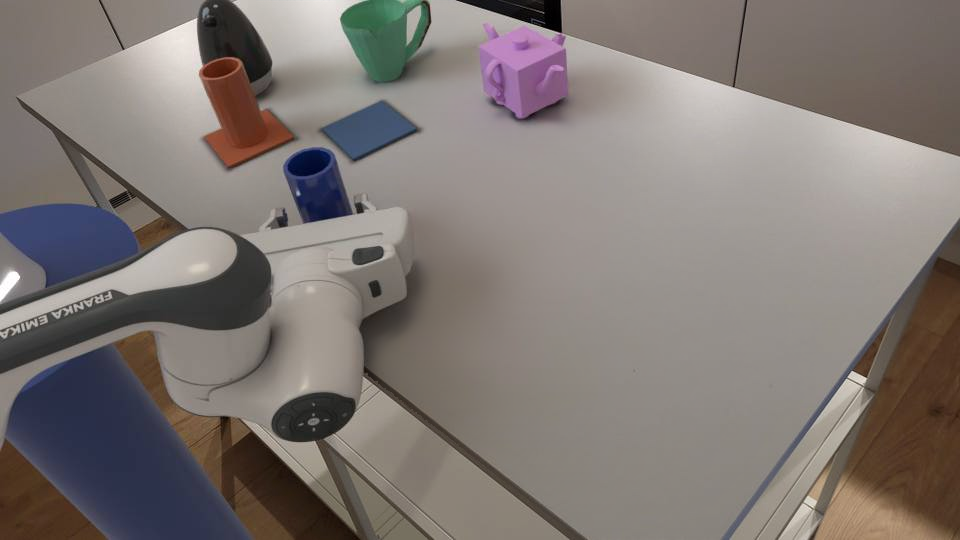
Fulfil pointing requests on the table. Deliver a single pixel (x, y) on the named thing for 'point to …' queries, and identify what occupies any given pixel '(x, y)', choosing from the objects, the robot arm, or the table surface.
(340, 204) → the blue cup
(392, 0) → the mug
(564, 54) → the teapot
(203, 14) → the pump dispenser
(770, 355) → the table surface
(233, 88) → the terracotta cup
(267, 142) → the terracotta mat
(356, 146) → the blue mat
